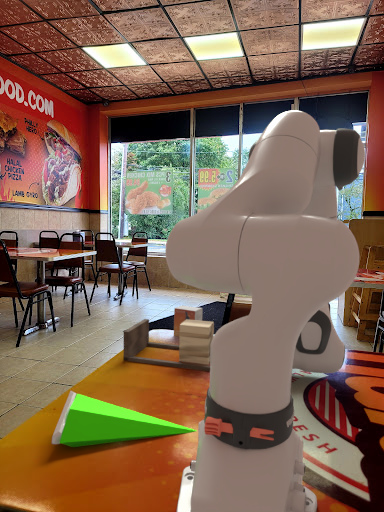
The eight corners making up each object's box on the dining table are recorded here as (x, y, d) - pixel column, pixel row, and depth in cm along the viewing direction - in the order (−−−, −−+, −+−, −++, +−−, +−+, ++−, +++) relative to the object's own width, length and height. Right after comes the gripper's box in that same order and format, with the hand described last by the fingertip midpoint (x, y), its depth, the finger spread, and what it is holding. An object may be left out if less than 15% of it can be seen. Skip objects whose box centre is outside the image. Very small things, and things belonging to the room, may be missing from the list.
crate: (208, 364, 94) (208, 327, 93) (179, 361, 96) (179, 324, 95) (213, 356, 100) (214, 321, 99) (185, 353, 102) (186, 319, 101)
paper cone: (195, 422, 72) (69, 406, 70) (200, 401, 70) (71, 385, 68) (198, 474, 62) (50, 458, 59) (204, 451, 60) (51, 434, 57)
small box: (173, 339, 119) (173, 307, 118) (181, 334, 124) (181, 304, 123) (194, 343, 115) (195, 310, 114) (202, 338, 120) (202, 307, 119)
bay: (210, 375, 90) (210, 340, 89) (123, 364, 97) (123, 331, 96) (221, 356, 103) (221, 326, 103) (144, 347, 110) (144, 318, 109)
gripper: (278, 327, 102) (230, 323, 105) (274, 350, 82) (215, 344, 86) (277, 349, 102) (229, 344, 106) (273, 377, 82) (214, 370, 86)
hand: (222, 344), depth 96 cm, fingers closed
